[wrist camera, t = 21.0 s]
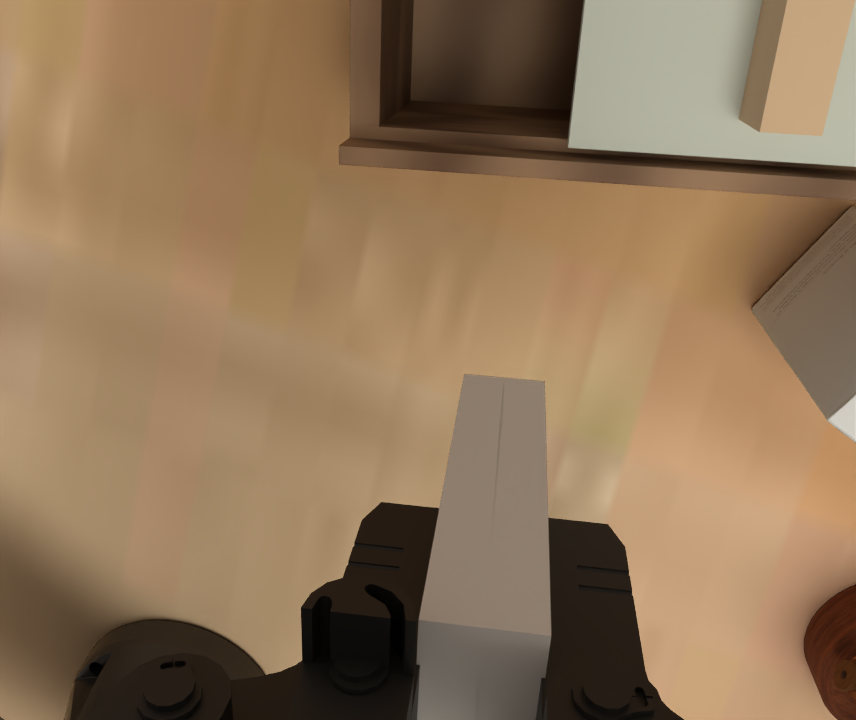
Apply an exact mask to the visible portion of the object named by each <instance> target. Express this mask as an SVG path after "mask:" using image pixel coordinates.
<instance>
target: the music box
mask: <svg viewBox="0 0 856 720" xmlns="http://www.w3.org/2000/svg"><path fill="white" fill-rule="evenodd" d="M804 653H805V658H806V661H807V663H808V666H809V668H810V671H811V673H812V676H813V678H814V680H815V683H816V685H817V688H818V690H819V693H820V695H821V698H822V700H823V702H824V704H825V706H826V707H827V709H828V710H829V711H830V713H831V714H832V715H833V716H834V717H835V718H836V719H837V720H856V585H855V586H852V587H850V588H848V589H846V590H844V591H842V592H841V593H839V594H837V595H836V596H834V597H833V598H832V599H830V600H829V601H828V602H827V603H825V604H824V605H823V606H822V607H821V608H820V609H819V611H818V612H817V613H816V614H815V616H814V617H813V619H812V620H811V622H810V624H809V626H808V628H807V631H806V635H805V640H804Z"/></svg>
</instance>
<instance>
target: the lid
mask: <svg viewBox="0 0 856 720" xmlns="http://www.w3.org/2000/svg"><path fill="white" fill-rule="evenodd" d="M567 145H568V148H580V149H595V150H610V151H625V152H640V153H656V154H671V155H686V156H701V157H716V158H732V159H747V160H762V161H777V162H792V163H808V164H823V165H838V166H853V167H856V0H584V1H583V9H582V18H581V27H580V36H579V44H578V53H577V62H576V71H575V79H574V88H573V97H572V106H571V114H570V123H569V132H568V141H567Z"/></svg>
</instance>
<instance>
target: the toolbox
mask: <svg viewBox="0 0 856 720" xmlns="http://www.w3.org/2000/svg"><path fill="white" fill-rule="evenodd" d="M583 1H584V0H350V138H349V139H347V140H346V141H345V142H343V143H342V144H341V145H340V146H339V164H340V165H354V166H368V167H383V168H397V169H412V170H426V171H440V172H455V173H469V174H484V175H498V176H512V177H527V178H541V179H556V180H570V181H584V182H599V183H613V184H628V185H642V186H657V187H671V188H685V189H700V190H714V191H729V192H743V193H757V194H772V195H786V196H801V197H815V198H829V199H844V200H856V167H853V166H838V165H823V164H808V163H792V162H777V161H762V160H747V159H732V158H716V157H701V156H686V155H671V154H656V153H640V152H625V151H610V150H595V149H580V148H568V145H567V141H568V132H569V123H570V114H571V106H572V97H573V88H574V79H575V71H576V62H577V53H578V44H579V36H580V27H581V18H582V9H583Z"/></svg>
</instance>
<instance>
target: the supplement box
mask: <svg viewBox="0 0 856 720" xmlns="http://www.w3.org/2000/svg"><path fill="white" fill-rule="evenodd" d="M752 312H753V314H754V315H755V317H756V318H757V320H758V321H759V323H760V324H761V326H762V327H763V329H764V330H765V331H766V333H767V334H768V335H769V337H770V338H771V340H772V341H773V343H774V344H775V346H776V347H777V349H778V350H779V351H780V353H781V354H782V356H783V357H784V359H785V360H786V361H787V363H788V364H789V366H790V367H791V368H792V370H793V371H794V373H795V374H796V376H797V377H798V378H799V380H800V381H801V383H802V384H803V385H804V387H805V388H806V390H807V391H808V393H809V394H810V396H811V397H812V399H813V400H814V402H815V403H816V404H817V406H818V407H819V409H820V410H821V412H822V413H823V414H824V416H825V418H826V419H827V421H828V422H829V423H831V424H832V425H833V426H834V427H836V428H837V429H838V430H839V431H841V432H842V433H843V434H845V435H846V436H847V437H849V438H850V439H851V440H853V441H854V442H855V443H856V207H854V206H852V207H850V208H849V209H848V210H847V211H846V212H845V213H844V214H843V215H842V216H841V217H840V218H839V219H838V220H837V221H836V222H835V223H834V224H833V225H832V226H831V227H830V228H829V229H828V230H827V231H826V232H825V233H824V234H823V235H822V236H821V237H820V238H819V240H818V241H816V242H815V243H814V244H813V245H812V246H811V247H810V248H809V249H808V251H807V252H806V253H805V254H804V255H803V256H802V257H801V258H800V259H799V260H798V261H797V262H796V263H795V264H794V265H793V266H792V267H791V268H790V269H789V270H788V271H787V272H786V273H785V274H784V275H783V276H782V277H781V278H780V279H779V280H778V281H777V282H776V283H775V284H774V285H773V286H772V288H771V289H770V290H769V291H768V292H766V293H765V295H764V296H763V297H762V298H761V299H760V300H759V301H758V302H757V303H756V304H755V305H754V307H753V308H752Z"/></svg>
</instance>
